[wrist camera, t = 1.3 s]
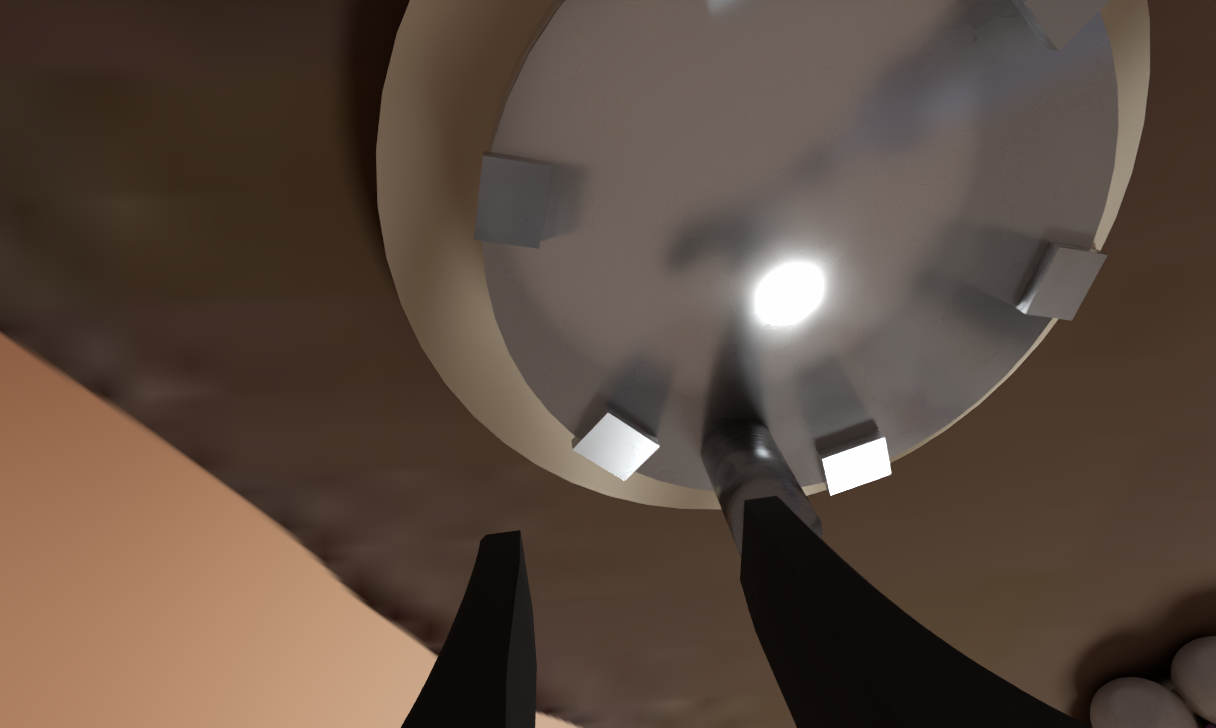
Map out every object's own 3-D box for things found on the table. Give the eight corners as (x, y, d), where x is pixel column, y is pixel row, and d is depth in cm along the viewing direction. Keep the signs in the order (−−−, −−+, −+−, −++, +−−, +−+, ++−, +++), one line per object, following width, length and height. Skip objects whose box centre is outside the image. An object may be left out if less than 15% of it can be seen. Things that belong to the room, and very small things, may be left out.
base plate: (1258, -144, 17) (1327, -153, 16) (930, 497, 27) (955, 529, 25) (408, -411, 13) (398, -457, 12) (370, 458, 23) (361, 493, 21)
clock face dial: (1177, -50, 17) (1448, -50, 12) (923, 467, 24) (1030, 596, 19) (522, -228, 13) (537, -326, 9) (452, 430, 20) (439, 573, 16)
